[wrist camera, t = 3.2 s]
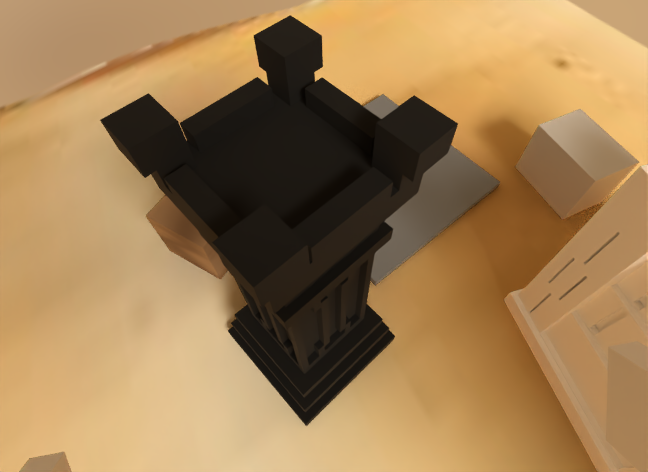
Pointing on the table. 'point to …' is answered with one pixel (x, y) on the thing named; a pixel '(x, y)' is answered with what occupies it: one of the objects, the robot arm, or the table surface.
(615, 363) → the robot arm
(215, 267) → the walnut cube
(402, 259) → the felt mat
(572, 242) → the castle model
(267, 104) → the chess piece
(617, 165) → the grey plastic box
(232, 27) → the table surface
